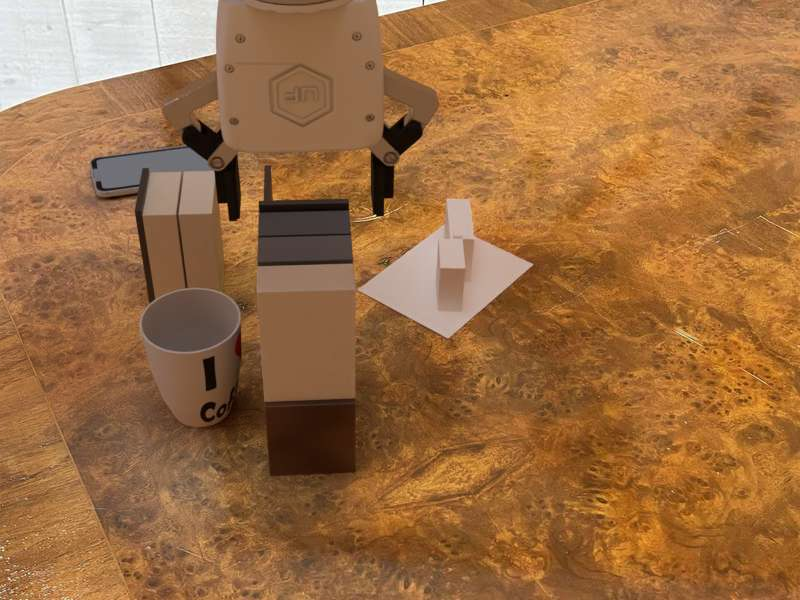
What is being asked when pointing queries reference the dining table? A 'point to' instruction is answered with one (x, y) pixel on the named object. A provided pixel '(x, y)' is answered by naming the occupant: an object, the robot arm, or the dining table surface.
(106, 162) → the smartphone
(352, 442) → the dark brown box
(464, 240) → the napkin holder
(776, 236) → the dining table surface
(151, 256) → the slotted desk organizer
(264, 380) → the tan rectangular block
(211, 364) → the cup
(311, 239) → the grey books
